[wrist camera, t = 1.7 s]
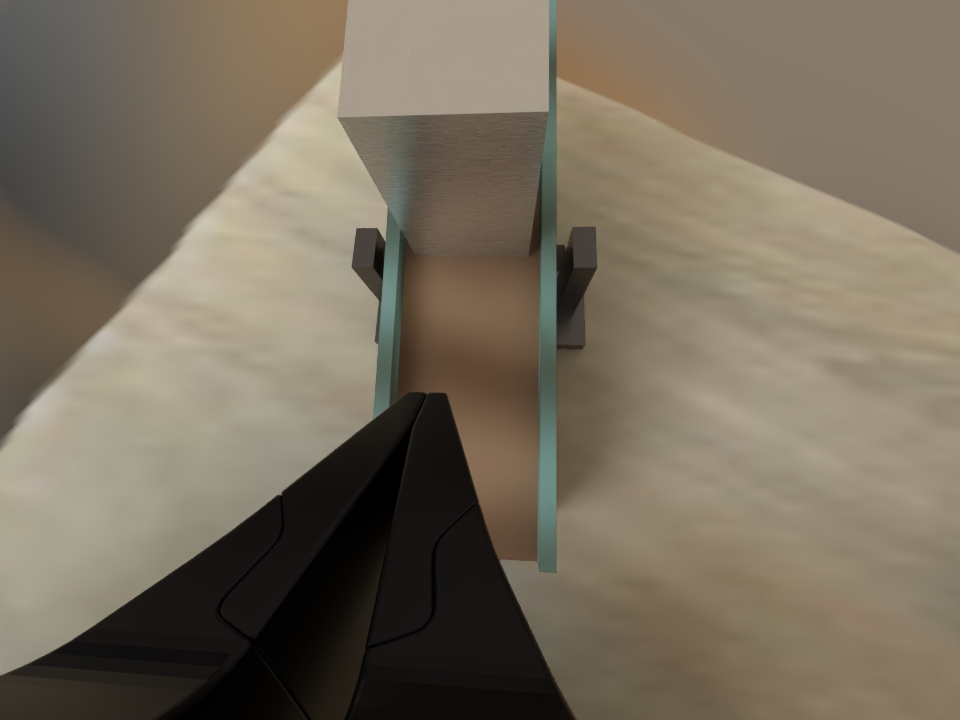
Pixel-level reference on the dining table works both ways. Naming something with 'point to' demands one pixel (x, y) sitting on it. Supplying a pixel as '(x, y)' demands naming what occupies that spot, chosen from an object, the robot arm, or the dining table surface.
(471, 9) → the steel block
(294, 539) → the robot arm
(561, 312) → the beam stand
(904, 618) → the dining table surface
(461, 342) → the balance beam
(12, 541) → the dining table surface
